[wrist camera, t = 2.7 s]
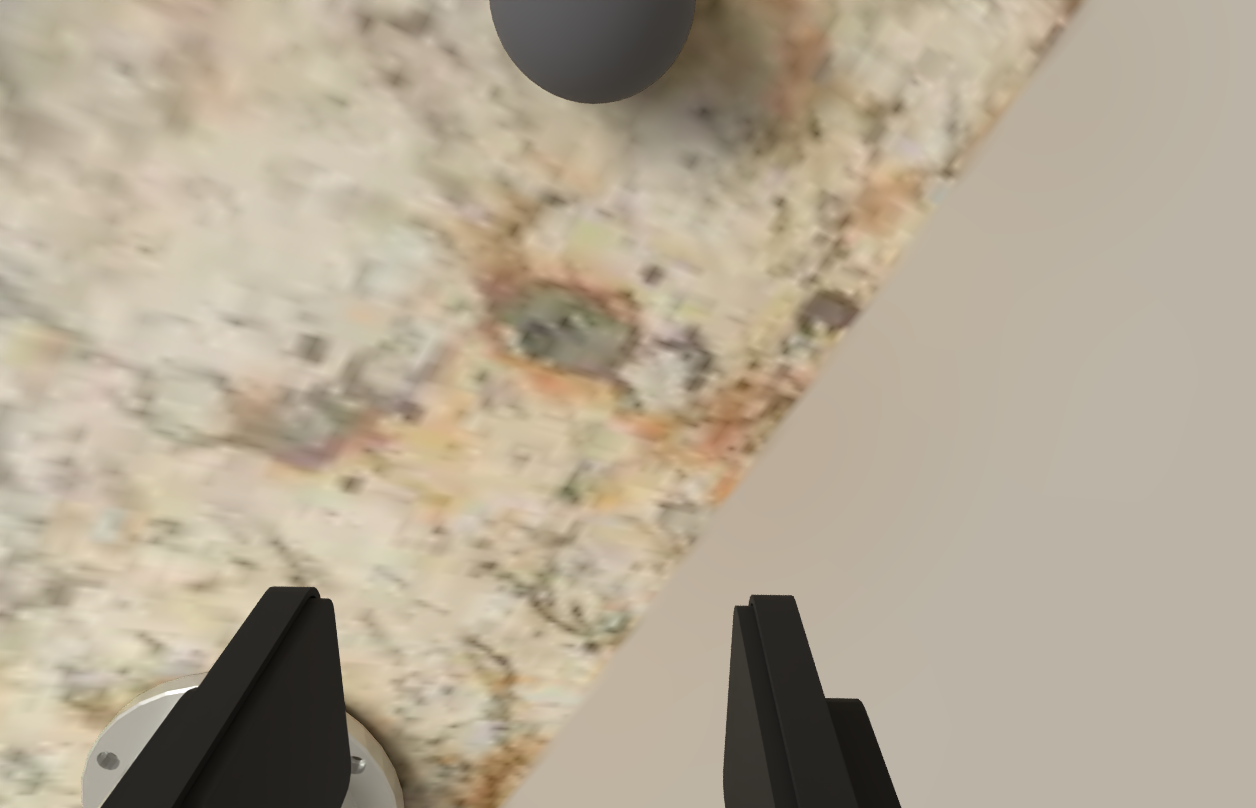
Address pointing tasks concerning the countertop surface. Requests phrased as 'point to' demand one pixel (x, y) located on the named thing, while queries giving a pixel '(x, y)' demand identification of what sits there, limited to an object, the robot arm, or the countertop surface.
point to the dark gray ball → (593, 43)
